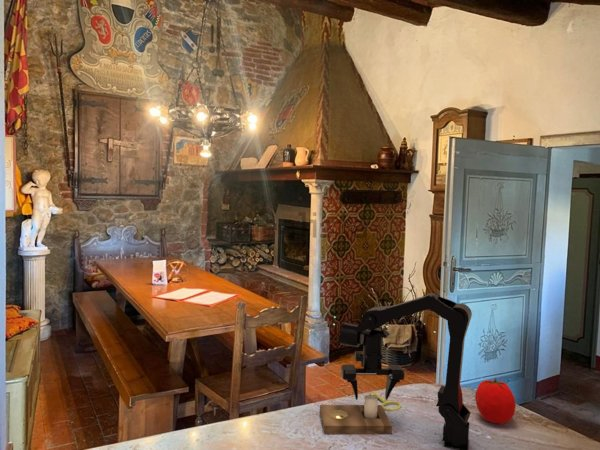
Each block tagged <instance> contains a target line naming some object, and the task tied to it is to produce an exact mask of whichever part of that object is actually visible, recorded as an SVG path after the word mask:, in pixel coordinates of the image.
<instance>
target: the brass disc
mask: <svg viewBox="0 0 600 450" xmlns="http://www.w3.org/2000/svg"><path fill="white" fill-rule="evenodd" d="M329 416H330V417H331V418H334V419H345V418H347V417H348V413H347V412H345V411H342V410H332V411H330V412H329Z"/></svg>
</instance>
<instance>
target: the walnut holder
mask: <svg viewBox="0 0 600 450" xmlns="http://www.w3.org/2000/svg"><path fill="white" fill-rule="evenodd" d="M332 410H342V411H345V412H347V413H348V417H347V418H345V419H334V418H331V417H330V416H329V412H330V411H332ZM319 415H320V421H321V425H322V429H323V430H322V431H323V434H324V435H393V425H392V423H391V420H390V418H389V417H388V415H387V413H386V411H385V410H384V409H383V407H382V404H378V406H377V419H364V404H320V405H319Z"/></svg>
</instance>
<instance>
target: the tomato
mask: <svg viewBox="0 0 600 450" xmlns="http://www.w3.org/2000/svg"><path fill="white" fill-rule="evenodd" d="M510 388H511V387H509V385H508V383H506V382H503V381H497V377H494V379H493V380H492V379H488V380H487V379H486V380H483V381H481V382H480V383H479V384H478V386H477V388H476V391H475V394H474V396H475V398H474V399H475V403H476V407H477V410H478V412H479V414H480V415H481V416H482V418H483V419H484V420H486V421H487V422H490V423H493V424H497V425H498V424H500V425H502V424H507V423H508V422H510V421H511V420H512V418H513V417H514V416H515V412H516V405H517V404H516V398H515V395H514V393H513V392H512V390H511V389H510Z"/></svg>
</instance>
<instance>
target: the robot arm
mask: <svg viewBox="0 0 600 450" xmlns="http://www.w3.org/2000/svg"><path fill="white" fill-rule="evenodd" d="M427 310H431V312H434V313H435V314H436V315H438V316H439V317H440V318H442V319H444V320H445V321H446V322H447V329H448V330H447V331H448V334H449V344H448V345H449V346H448V352H447V353H448V355H447V365H446V377H445V385H441V386H440V388H439V389H438V390H437V403H436V405H435V407H438V409H437V410H438V413H439V415H440V416H441V417H442V418H443V420H444V423H443V426H442V427H443V428H442V442H443V447H446V448H451V449H454V450H469V447H470V438H469V437H470V436H469V435H470V421H469V418H470V415H471V411H470V410H469V409H468V408H467V407H466V405H465V404H464V399H463V390H462V386H461V381H462V380H461V379H462V371H463V361H464V360H463V359H464V348H465V338H466V335H467V331H468V329H469V326H470V323H471V319H472V316H473V315H472V313H473V312H472V309H471V308H470V307H469V306H468V305H467V304H465V303H457V302H455V301H453V300H451V299H448V298H445V297H442V296H441V295H438V294H436V293H434V292H430V293H428V294H427V295H423V296H420V297H417V298H414V299H411V300H407V301H403V302H401V303H397V304H394V305H383V306H382V305H381V306H373V307H371V308H370V309H368V310H366V311H365V312H364V313H363V315H362V317H361V321H360V323H358V324H353V323H350V322H349V323H348V322H343V323H342V324H341V329H340V332H339V335H338V343H339V344H340V345H342V346H349V347H355V348H359V347H360V345H363V348H362V349H363V350H362V351H361V350H360V351H359V350H356V351H354V362H360V366H361V367H362V368H360V367H358V368H356V367H355V365H354V364H342V365H341V367H340V374H341V377H342V379H343V380H345V381H346V382H347V383H350V384H351V387H352V391H353V393H354V398H355V400H356V401H357V400H358V399H359V398H358V397H359V393H358V392H359V390H358V380H357V376H386V381H385V382H386V383H385V391H384V392H385V395H384V399H386V400H388V399H389V397H390V395H391V394H392V391H393V390H394V388H395V387H396V385H397V383H400V382H401V381H403V380H405V370H404V369H403V368H402V366H401V365H400V364H388V365H387V368H386V367H385V368H383V344H384V343H383V339H386V338H388V337H389V336H390V332H389V331H387V330H386V328H385V327H383V328H381V329H379V328H380V327H382V326H384V325H387V324H388V323H389V322H391V321H393V320H396V319H400V318H403V317H406V316H411V315H413V314H416V313H420V312H423V311H427Z"/></svg>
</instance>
